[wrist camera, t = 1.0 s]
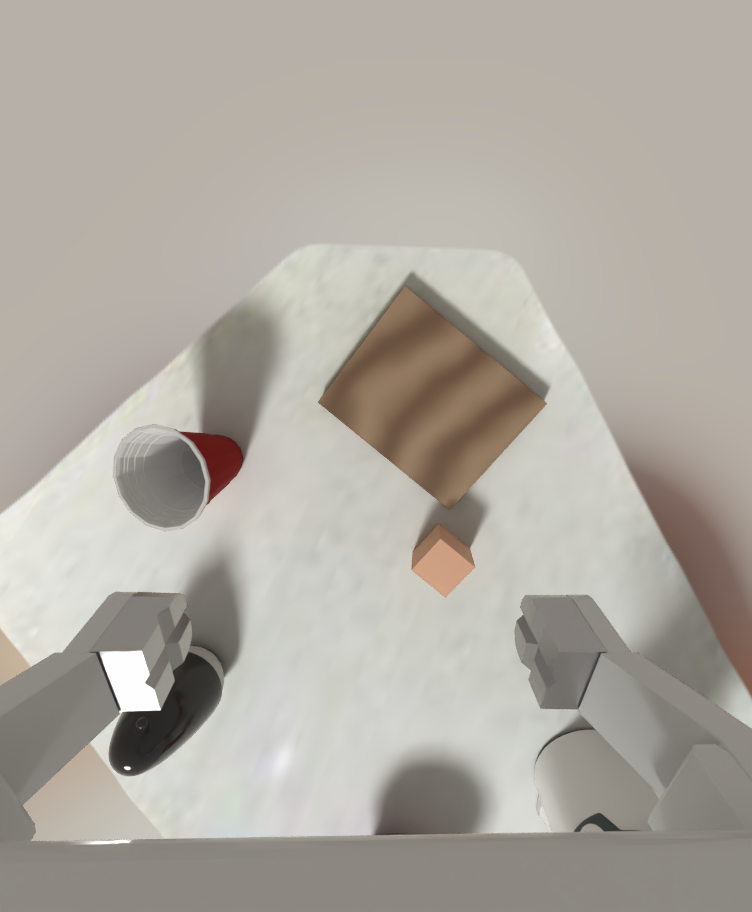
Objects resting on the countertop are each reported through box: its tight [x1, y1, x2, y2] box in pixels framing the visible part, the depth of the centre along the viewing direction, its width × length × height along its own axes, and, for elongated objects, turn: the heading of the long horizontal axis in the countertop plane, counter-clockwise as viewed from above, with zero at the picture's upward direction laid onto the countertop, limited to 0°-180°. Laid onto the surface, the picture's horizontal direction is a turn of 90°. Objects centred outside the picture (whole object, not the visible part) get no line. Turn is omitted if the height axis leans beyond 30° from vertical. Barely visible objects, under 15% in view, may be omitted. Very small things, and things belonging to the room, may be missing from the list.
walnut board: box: [318, 286, 547, 510], centre depth 44 cm, size 20×16×2 cm
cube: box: [411, 523, 475, 598], centre depth 45 cm, size 5×5×5 cm
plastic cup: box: [113, 424, 243, 531], centre depth 43 cm, size 11×11×12 cm
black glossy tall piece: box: [109, 646, 224, 776], centre depth 48 cm, size 10×10×15 cm
